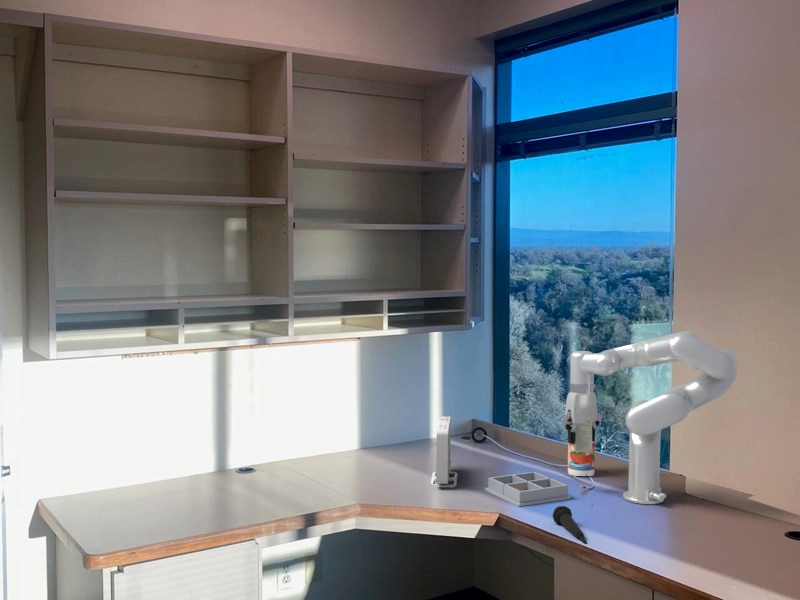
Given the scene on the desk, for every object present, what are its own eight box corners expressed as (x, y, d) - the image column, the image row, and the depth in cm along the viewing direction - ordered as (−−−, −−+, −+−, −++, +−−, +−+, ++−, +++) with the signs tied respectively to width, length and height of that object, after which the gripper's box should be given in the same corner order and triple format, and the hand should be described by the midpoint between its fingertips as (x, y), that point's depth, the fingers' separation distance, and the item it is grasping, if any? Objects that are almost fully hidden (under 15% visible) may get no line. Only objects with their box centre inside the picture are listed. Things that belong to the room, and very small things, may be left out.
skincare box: (589, 448, 277) (589, 412, 277) (592, 451, 273) (593, 414, 272) (569, 448, 277) (570, 412, 277) (573, 451, 273) (573, 414, 272)
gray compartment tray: (571, 498, 267) (571, 485, 267) (518, 506, 259) (519, 493, 259) (534, 483, 285) (535, 470, 285) (484, 490, 277) (485, 477, 277)
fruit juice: (591, 471, 302) (593, 394, 301) (596, 478, 293) (598, 398, 291) (565, 470, 303) (567, 394, 301) (569, 477, 293) (571, 398, 292)
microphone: (590, 554, 227) (563, 522, 246) (598, 535, 226) (570, 504, 246) (572, 549, 226) (547, 517, 245) (580, 530, 225) (554, 500, 244)
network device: (433, 470, 303) (434, 415, 301) (457, 470, 302) (458, 416, 301) (429, 489, 277) (429, 430, 276) (455, 490, 276) (456, 430, 275)
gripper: (595, 385, 281) (595, 437, 282) (553, 388, 274) (552, 442, 275) (610, 388, 275) (609, 441, 275) (567, 392, 267) (566, 447, 268)
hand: (581, 441), depth 275 cm, fingers closed on skincare box, 7 cm apart
